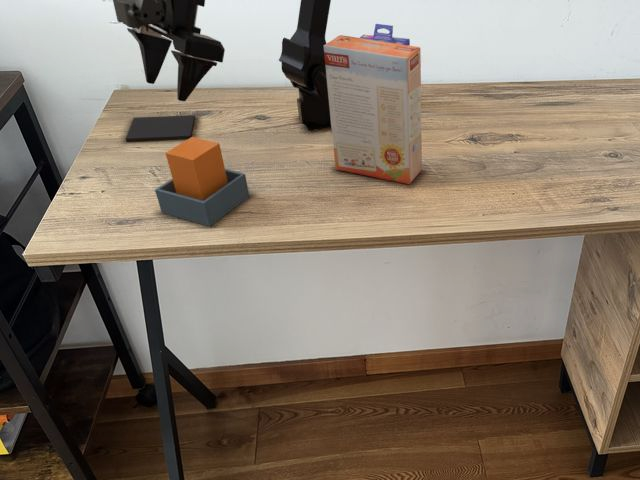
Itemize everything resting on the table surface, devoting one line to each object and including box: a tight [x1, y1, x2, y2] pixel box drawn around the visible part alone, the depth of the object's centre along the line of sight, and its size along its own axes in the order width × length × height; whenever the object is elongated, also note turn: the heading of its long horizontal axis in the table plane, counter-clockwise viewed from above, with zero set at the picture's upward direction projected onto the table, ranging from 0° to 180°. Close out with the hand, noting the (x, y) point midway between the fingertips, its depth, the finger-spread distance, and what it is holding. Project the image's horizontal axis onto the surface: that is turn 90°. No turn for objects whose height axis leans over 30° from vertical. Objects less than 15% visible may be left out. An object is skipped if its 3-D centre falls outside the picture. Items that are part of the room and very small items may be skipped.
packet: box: [165, 136, 228, 201], centre depth 104 cm, size 6×5×9 cm
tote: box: [154, 168, 250, 227], centre depth 106 cm, size 10×9×4 cm
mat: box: [125, 114, 196, 143], centre depth 126 cm, size 11×9×1 cm
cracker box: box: [324, 34, 423, 185], centre depth 111 cm, size 14×6×21 cm, turn 71°
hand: (165, 91), depth 106 cm, fingers open, 9 cm apart
